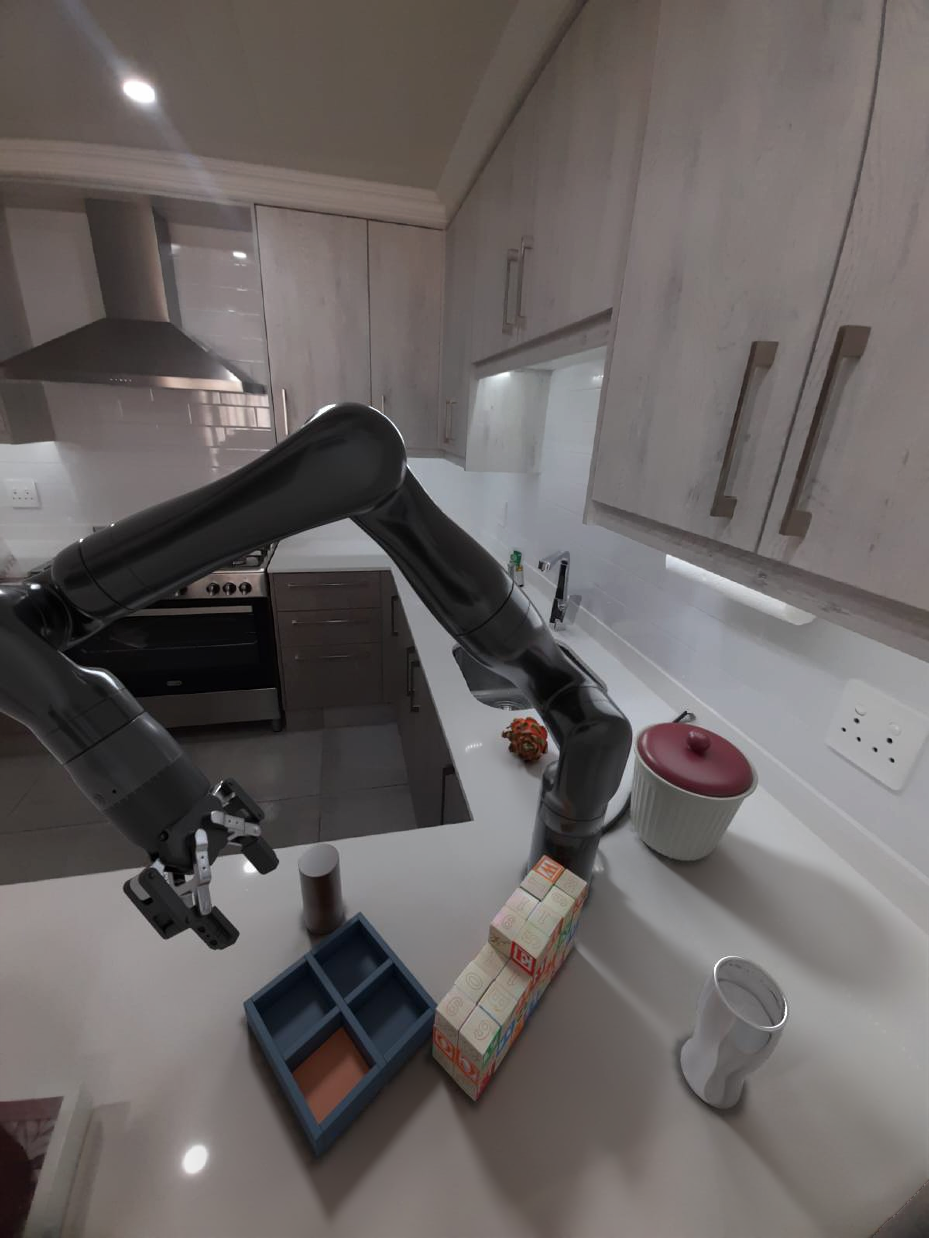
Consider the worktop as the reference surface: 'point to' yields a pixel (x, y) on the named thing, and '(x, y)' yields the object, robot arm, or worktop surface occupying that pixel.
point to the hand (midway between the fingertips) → (253, 902)
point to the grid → (339, 1026)
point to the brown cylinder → (321, 888)
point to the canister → (686, 788)
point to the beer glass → (733, 1030)
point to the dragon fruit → (527, 738)
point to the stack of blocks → (507, 975)
